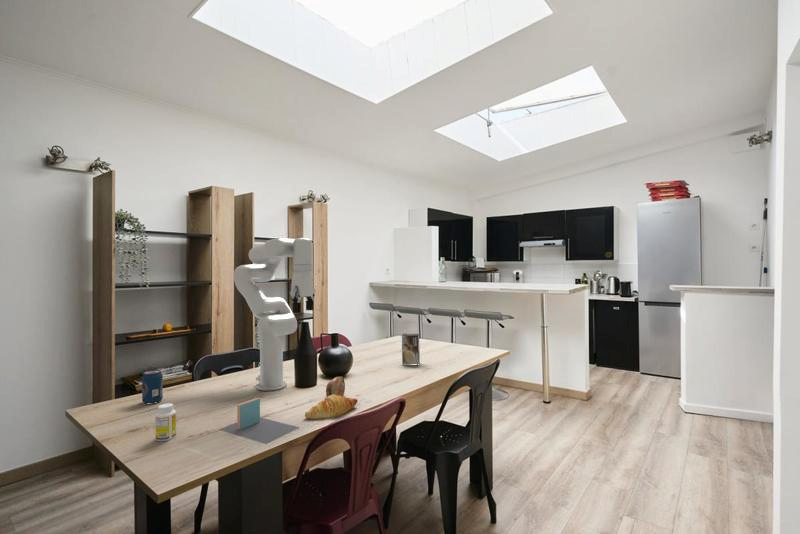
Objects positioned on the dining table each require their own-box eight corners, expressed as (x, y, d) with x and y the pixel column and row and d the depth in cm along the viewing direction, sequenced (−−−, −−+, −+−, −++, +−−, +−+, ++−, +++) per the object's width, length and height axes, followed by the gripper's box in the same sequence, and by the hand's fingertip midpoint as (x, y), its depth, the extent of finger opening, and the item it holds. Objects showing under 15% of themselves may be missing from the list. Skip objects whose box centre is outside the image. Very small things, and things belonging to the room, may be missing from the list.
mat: (218, 430, 132) (218, 429, 132) (254, 416, 144) (254, 415, 144) (266, 444, 121) (266, 443, 121) (299, 428, 133) (299, 427, 133)
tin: (332, 406, 153) (332, 384, 153) (324, 406, 154) (324, 384, 154) (345, 394, 168) (345, 374, 168) (338, 394, 169) (338, 373, 169)
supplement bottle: (172, 433, 130) (171, 401, 130) (179, 437, 126) (178, 404, 126) (152, 438, 125) (152, 405, 125) (159, 443, 122) (159, 409, 122)
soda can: (139, 402, 160) (139, 371, 160) (159, 398, 165) (159, 368, 165) (145, 406, 155) (145, 375, 155) (165, 401, 160) (165, 371, 160)
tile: (237, 429, 132) (237, 404, 132) (257, 421, 139) (257, 397, 138) (240, 430, 131) (240, 405, 131) (260, 421, 138) (260, 398, 138)
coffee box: (420, 363, 221) (420, 333, 221) (418, 365, 215) (418, 335, 215) (403, 362, 223) (403, 333, 223) (401, 365, 216) (401, 335, 216)
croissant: (309, 433, 137) (314, 415, 134) (297, 412, 144) (301, 395, 141) (360, 416, 151) (366, 400, 148) (347, 398, 158) (352, 382, 155)
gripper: (306, 269, 173) (306, 309, 173) (282, 269, 156) (283, 313, 156) (321, 268, 171) (322, 309, 171) (299, 269, 154) (300, 314, 154)
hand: (303, 311), depth 163 cm, fingers open, 9 cm apart
